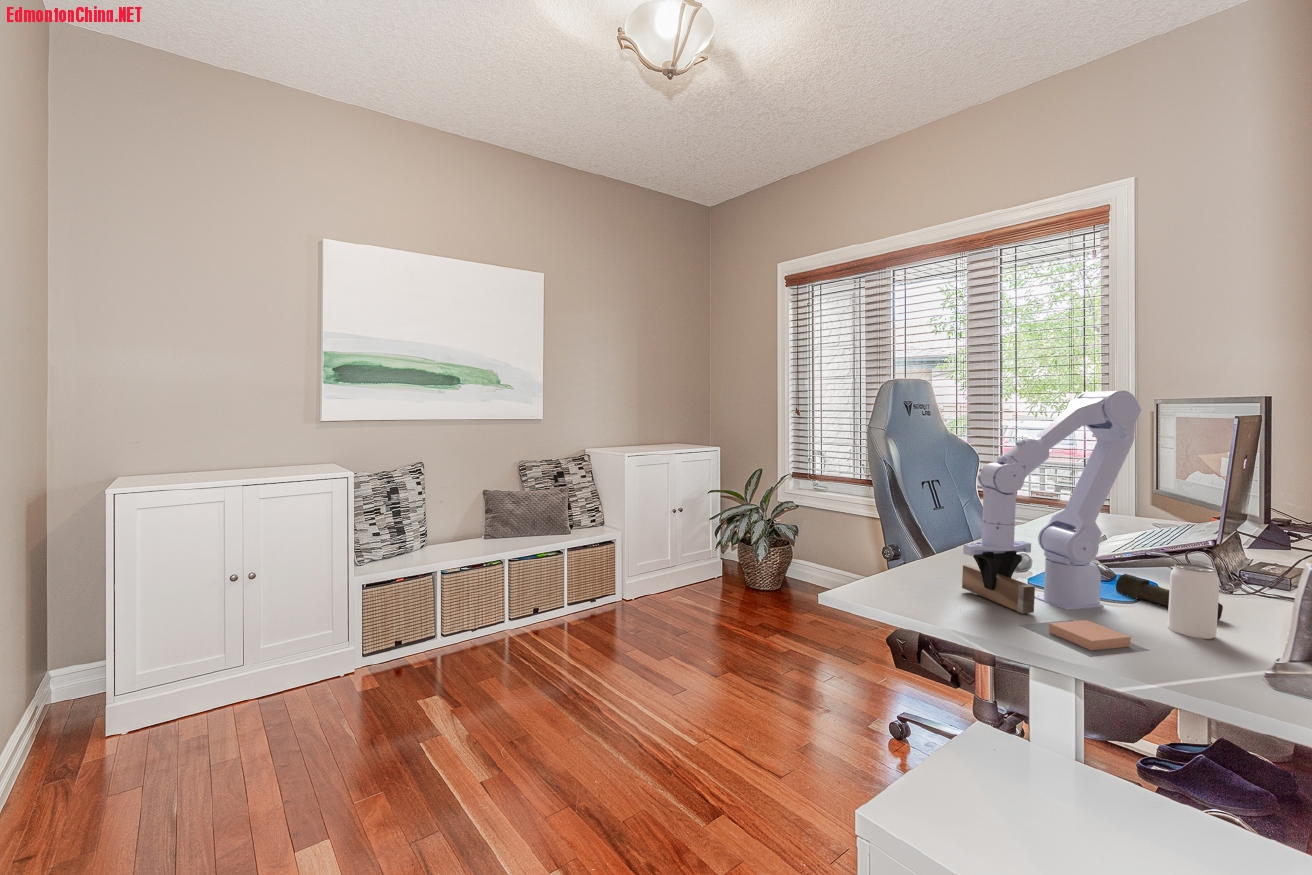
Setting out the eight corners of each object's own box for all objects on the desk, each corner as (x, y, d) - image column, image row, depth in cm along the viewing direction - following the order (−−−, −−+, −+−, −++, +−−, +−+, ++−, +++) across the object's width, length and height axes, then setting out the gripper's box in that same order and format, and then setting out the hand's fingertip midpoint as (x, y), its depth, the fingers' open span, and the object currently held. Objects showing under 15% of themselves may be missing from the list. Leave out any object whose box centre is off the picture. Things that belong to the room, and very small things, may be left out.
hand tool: (1224, 622, 113) (1226, 598, 113) (1208, 623, 112) (1209, 599, 112) (1126, 592, 132) (1127, 571, 131) (1111, 592, 131) (1112, 572, 131)
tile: (1086, 619, 107) (1130, 636, 99) (1085, 629, 107) (1130, 647, 99) (1049, 623, 105) (1091, 640, 97) (1048, 633, 105) (1091, 651, 97)
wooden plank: (972, 587, 130) (973, 564, 130) (1033, 612, 115) (1034, 586, 114) (961, 588, 130) (962, 564, 129) (1022, 613, 114) (1023, 587, 114)
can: (1220, 643, 102) (1224, 574, 102) (1171, 635, 106) (1175, 568, 105) (1210, 631, 108) (1214, 565, 107) (1164, 624, 111) (1167, 560, 110)
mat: (1072, 622, 112) (1072, 619, 112) (1149, 652, 98) (1149, 649, 98) (1018, 626, 109) (1018, 624, 109) (1089, 658, 96) (1090, 656, 96)
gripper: (1012, 517, 127) (1009, 580, 128) (953, 519, 124) (951, 584, 124) (1041, 523, 120) (1038, 590, 121) (979, 526, 117) (976, 595, 117)
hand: (995, 588), depth 122 cm, fingers closed on wooden plank, 2 cm apart
